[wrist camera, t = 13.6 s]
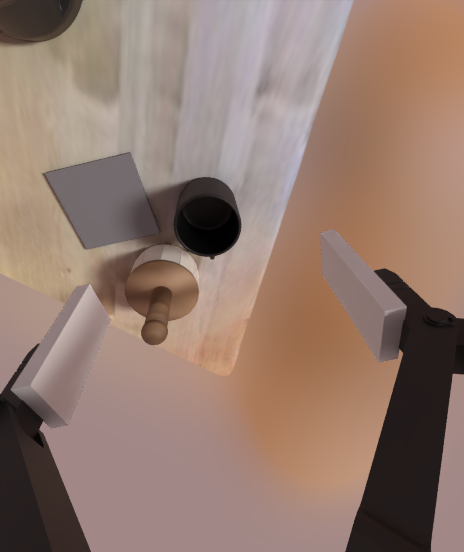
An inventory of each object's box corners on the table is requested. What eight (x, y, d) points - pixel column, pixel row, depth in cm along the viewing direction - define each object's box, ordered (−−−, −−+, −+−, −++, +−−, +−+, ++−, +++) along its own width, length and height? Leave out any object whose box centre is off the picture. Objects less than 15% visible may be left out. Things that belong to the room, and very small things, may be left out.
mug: (185, 247, 51) (182, 274, 44) (173, 179, 45) (167, 197, 37) (237, 242, 52) (243, 268, 44) (233, 173, 45) (240, 190, 38)
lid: (114, 268, 46) (89, 318, 36) (187, 252, 45) (182, 297, 35) (142, 323, 52) (128, 377, 42) (206, 309, 52) (206, 361, 42)
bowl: (124, 252, 51) (116, 269, 46) (187, 237, 50) (186, 254, 45) (148, 301, 57) (142, 321, 52) (204, 289, 57) (204, 308, 52)
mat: (46, 172, 43) (44, 173, 42) (130, 152, 42) (129, 153, 42) (87, 248, 50) (86, 249, 49) (160, 231, 49) (159, 233, 49)
